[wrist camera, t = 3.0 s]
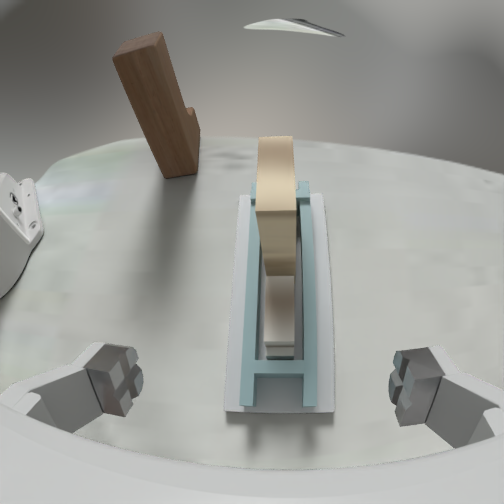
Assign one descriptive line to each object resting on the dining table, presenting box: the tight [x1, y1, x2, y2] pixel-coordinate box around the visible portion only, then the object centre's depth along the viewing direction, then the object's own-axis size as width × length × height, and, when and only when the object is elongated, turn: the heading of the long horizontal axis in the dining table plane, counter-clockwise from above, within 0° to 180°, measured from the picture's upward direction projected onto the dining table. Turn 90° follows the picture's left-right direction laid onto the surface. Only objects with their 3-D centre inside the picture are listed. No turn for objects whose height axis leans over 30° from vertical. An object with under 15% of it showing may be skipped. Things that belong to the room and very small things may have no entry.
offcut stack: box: [264, 276, 295, 360], centre depth 25 cm, size 6×2×4 cm, turn 177°
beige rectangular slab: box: [255, 136, 296, 284], centre depth 26 cm, size 7×2×11 cm, turn 177°
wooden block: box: [113, 32, 200, 178], centre depth 33 cm, size 9×4×18 cm, turn 4°
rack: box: [224, 181, 334, 413], centre depth 28 cm, size 22×9×4 cm, turn 177°
